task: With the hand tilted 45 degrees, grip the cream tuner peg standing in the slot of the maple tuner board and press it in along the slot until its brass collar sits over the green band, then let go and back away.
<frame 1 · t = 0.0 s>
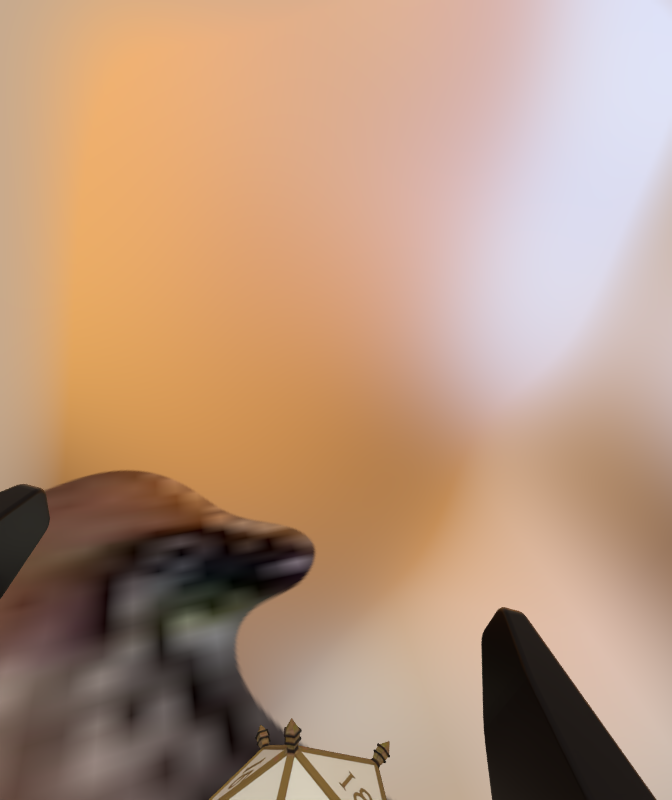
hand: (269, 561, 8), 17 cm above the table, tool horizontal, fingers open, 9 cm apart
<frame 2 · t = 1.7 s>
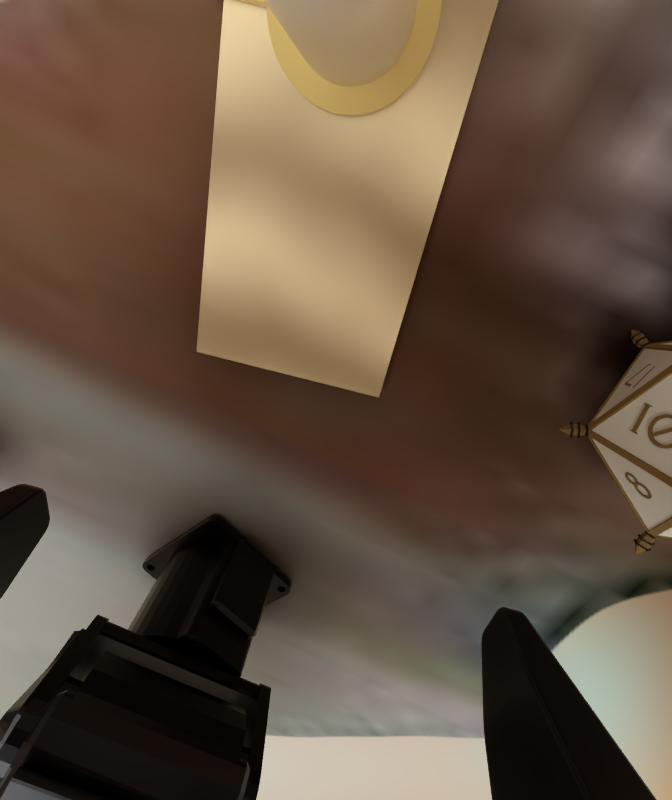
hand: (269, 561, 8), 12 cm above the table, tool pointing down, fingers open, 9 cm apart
tuner board: (336, 135, 15), on the table
game die: (656, 385, 18), on the table
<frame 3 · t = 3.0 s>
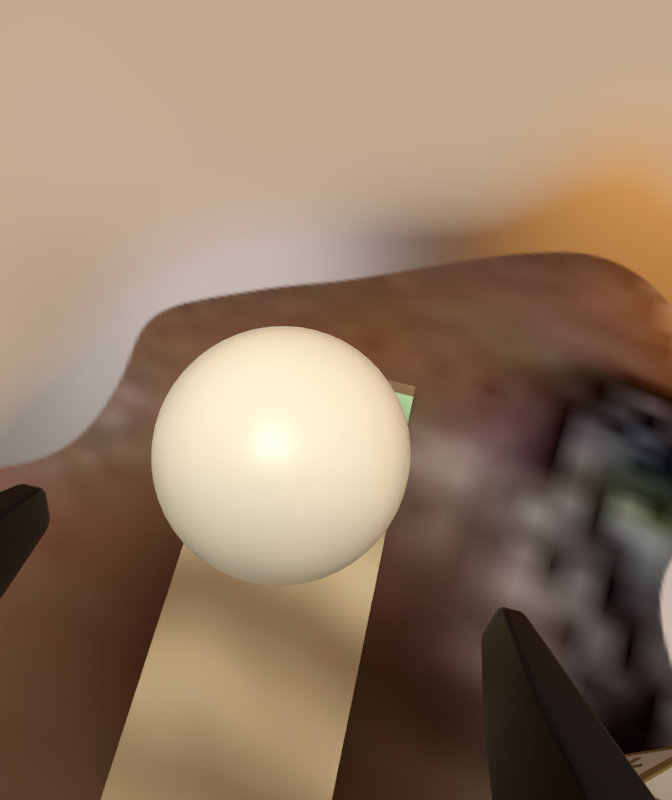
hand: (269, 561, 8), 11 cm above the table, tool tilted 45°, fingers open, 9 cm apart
peg: (255, 470, 12), point 8 cm above the table, slide at 0.0 cm
tuner board: (280, 564, 19), on the table
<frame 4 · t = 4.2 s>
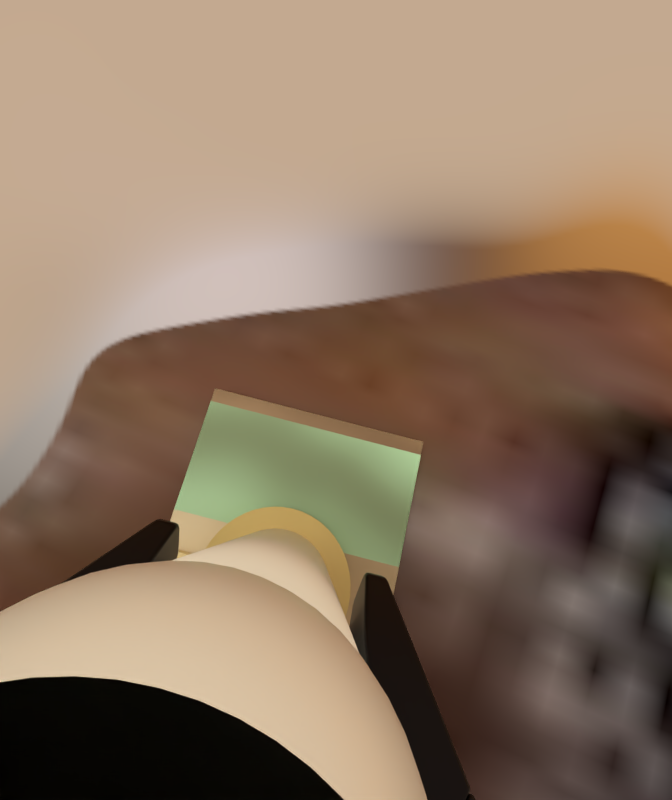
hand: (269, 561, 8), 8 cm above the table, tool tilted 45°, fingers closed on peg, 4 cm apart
peg: (188, 630, 8), point 8 cm above the table, slide at 0.0 cm, touching gripper
tuner board: (251, 671, 15), on the table
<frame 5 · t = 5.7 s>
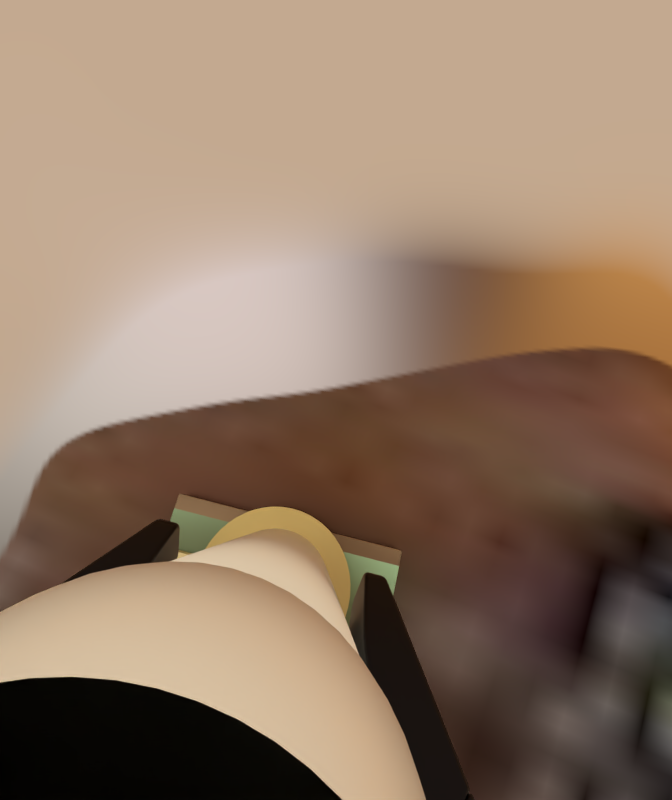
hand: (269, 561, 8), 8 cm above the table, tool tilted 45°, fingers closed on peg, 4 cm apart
peg: (188, 630, 8), point 8 cm above the table, slide at 4.0 cm, touching gripper
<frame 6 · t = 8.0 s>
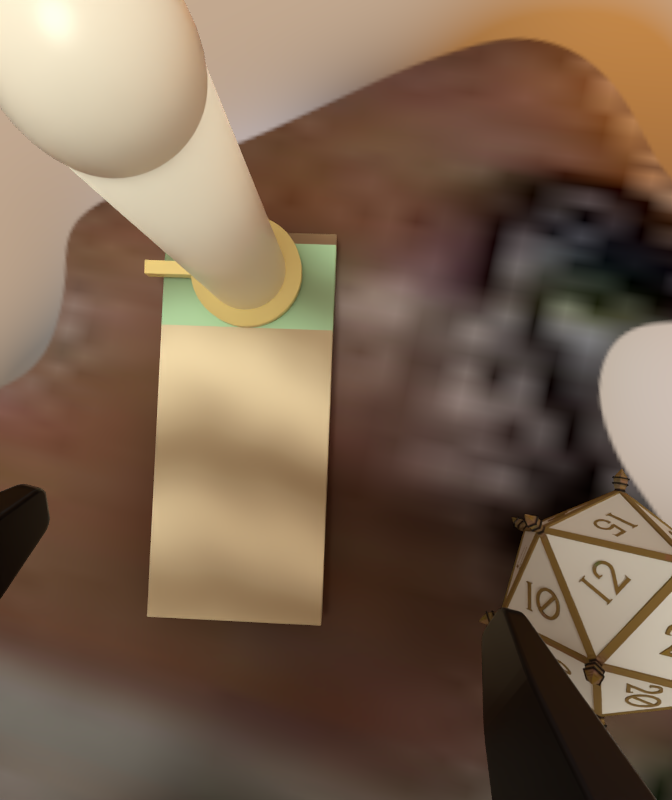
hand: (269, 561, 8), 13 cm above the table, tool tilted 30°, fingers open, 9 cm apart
peg: (162, 199, 13), point 8 cm above the table, slide at 4.0 cm
tuner board: (247, 423, 21), on the table
game die: (556, 559, 21), on the table
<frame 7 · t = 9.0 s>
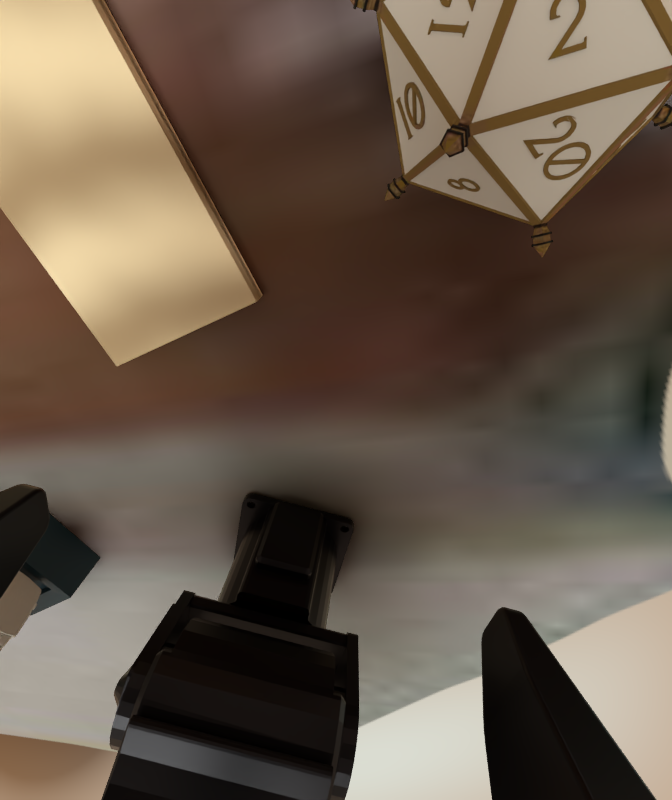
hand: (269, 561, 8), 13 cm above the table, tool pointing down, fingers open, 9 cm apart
tuner board: (64, 126, 17), on the table
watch: (52, 540, 30), on the table
game die: (494, 85, 15), on the table
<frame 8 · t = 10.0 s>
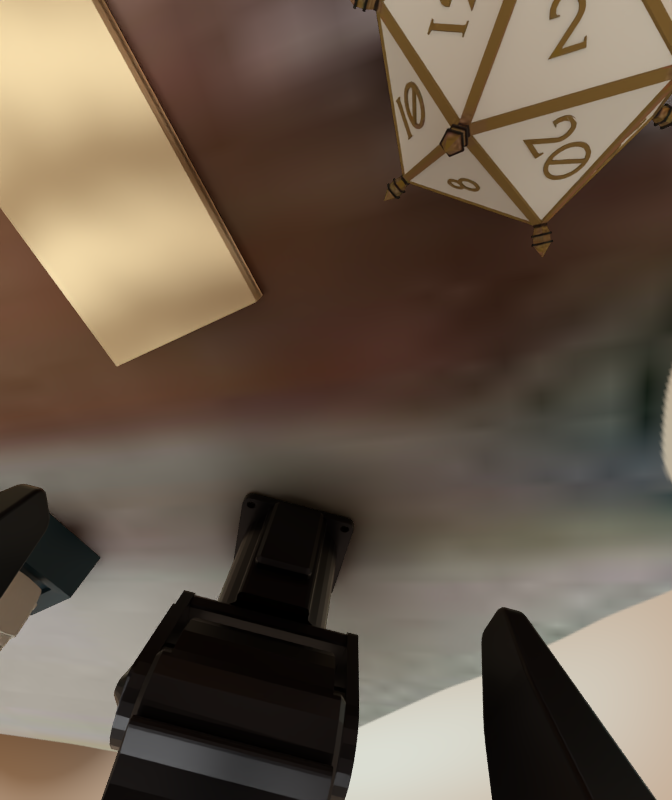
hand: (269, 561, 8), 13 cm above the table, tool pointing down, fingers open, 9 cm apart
tuner board: (64, 126, 17), on the table
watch: (52, 540, 30), on the table
game die: (494, 85, 15), on the table
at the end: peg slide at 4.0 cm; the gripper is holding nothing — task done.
